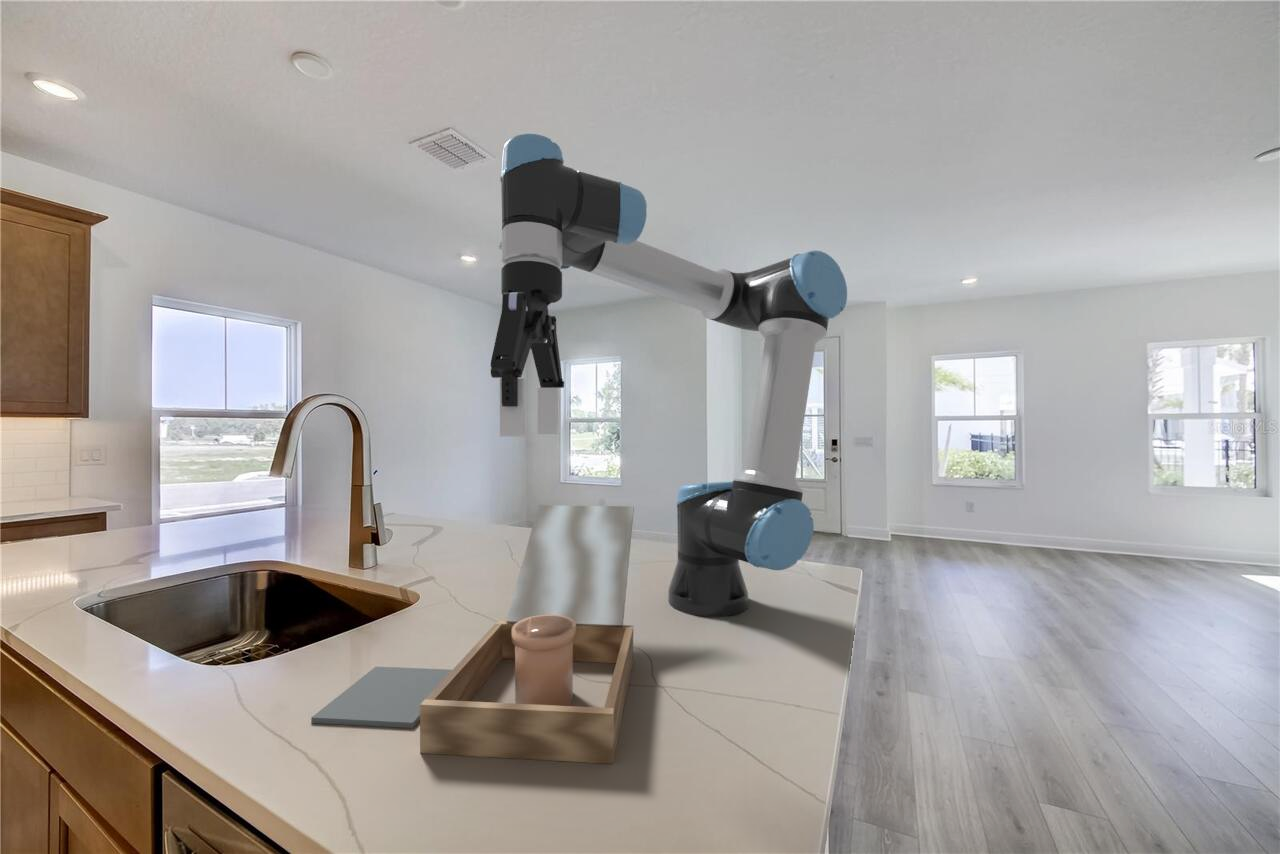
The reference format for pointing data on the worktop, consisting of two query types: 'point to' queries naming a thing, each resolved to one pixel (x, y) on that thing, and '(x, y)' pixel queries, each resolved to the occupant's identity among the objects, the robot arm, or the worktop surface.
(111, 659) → the worktop surface
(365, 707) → the mat
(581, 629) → the cold frame
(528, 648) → the pot
